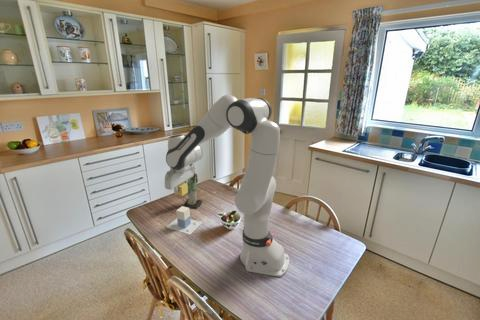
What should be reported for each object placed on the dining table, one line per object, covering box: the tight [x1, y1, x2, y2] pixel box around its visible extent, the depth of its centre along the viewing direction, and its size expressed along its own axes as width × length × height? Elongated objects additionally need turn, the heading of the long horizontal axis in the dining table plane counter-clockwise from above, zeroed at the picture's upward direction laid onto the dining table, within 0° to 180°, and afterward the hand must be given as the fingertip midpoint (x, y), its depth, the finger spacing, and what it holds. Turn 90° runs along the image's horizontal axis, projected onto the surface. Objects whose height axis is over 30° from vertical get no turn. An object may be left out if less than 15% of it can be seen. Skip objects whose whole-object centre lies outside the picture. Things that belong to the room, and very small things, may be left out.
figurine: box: [182, 163, 203, 210], centre depth 151 cm, size 10×10×30 cm
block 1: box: [173, 182, 188, 197], centre depth 126 cm, size 5×5×5 cm
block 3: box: [176, 215, 191, 228], centre depth 133 cm, size 5×5×5 cm
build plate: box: [166, 218, 203, 235], centre depth 134 cm, size 16×12×1 cm
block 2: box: [175, 205, 191, 220], centre depth 131 cm, size 5×5×5 cm
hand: (181, 190), depth 127 cm, fingers closed on block 1, 5 cm apart
